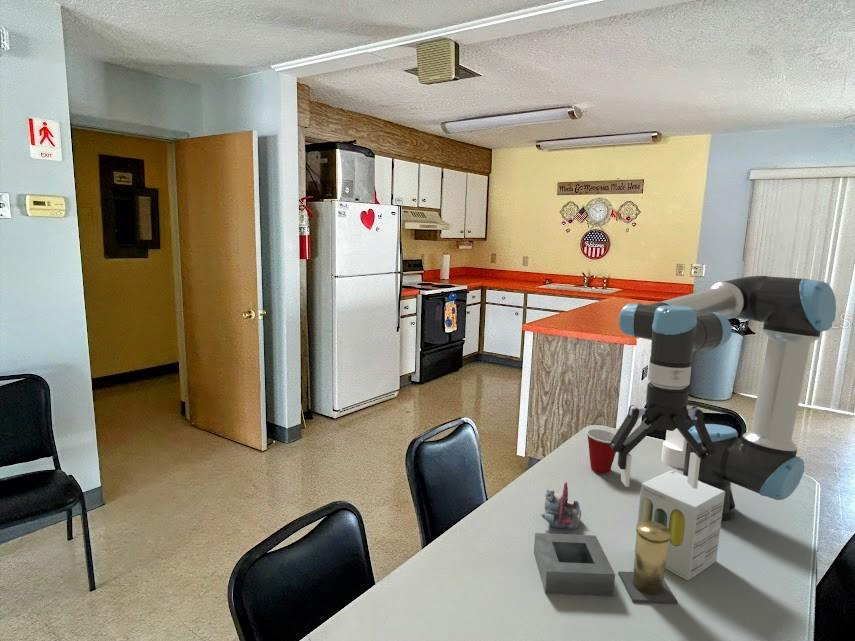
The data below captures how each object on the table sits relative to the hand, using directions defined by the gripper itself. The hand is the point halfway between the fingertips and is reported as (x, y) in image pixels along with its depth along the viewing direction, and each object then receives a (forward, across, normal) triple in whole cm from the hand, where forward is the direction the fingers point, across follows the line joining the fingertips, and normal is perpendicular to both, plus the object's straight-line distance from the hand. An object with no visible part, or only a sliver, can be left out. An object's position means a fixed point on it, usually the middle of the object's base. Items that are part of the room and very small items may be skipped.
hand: (658, 484), depth 108 cm
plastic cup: (+24, +7, +57) cm, 62 cm away
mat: (+24, 0, 0) cm, 24 cm away
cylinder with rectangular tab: (+24, +34, +65) cm, 77 cm away
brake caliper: (+24, -13, +25) cm, 37 cm away
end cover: (+23, 0, 0) cm, 23 cm away
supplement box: (+24, +11, +12) cm, 29 cm away
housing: (+23, -15, +4) cm, 28 cm away
